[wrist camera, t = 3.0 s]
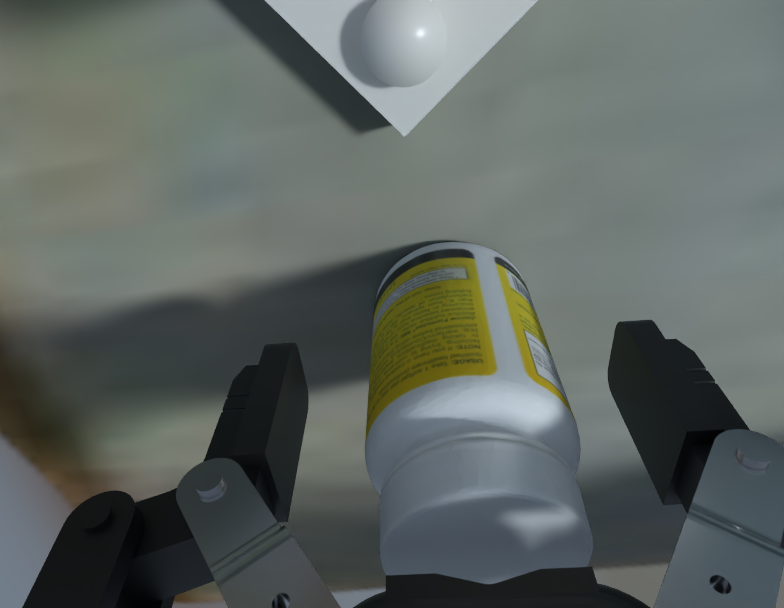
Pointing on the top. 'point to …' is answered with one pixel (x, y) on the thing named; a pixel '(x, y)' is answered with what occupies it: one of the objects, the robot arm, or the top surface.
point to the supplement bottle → (469, 424)
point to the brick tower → (402, 45)
